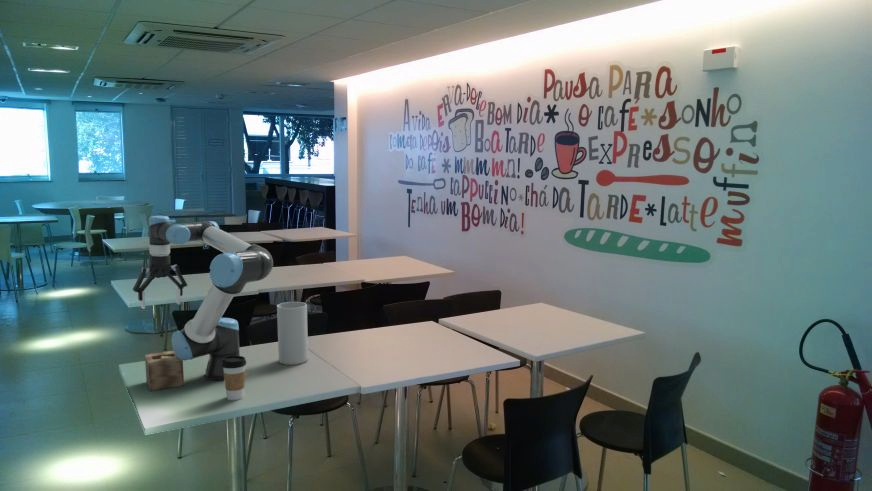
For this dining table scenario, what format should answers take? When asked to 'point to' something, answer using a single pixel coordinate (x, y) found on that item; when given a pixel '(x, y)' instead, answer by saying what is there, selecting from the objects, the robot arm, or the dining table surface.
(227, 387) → the coffee cup
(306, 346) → the cylinder vase
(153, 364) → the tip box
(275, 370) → the dining table surface
